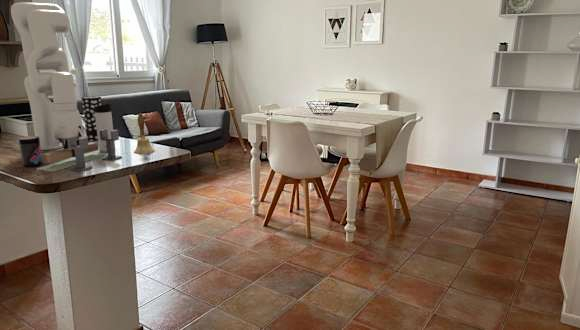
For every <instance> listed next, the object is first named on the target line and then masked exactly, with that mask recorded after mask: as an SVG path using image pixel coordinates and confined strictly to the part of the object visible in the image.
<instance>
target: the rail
mask: <svg viewBox="0 0 580 330" xmlns="http://www.w3.org/2000/svg"><path fill="white" fill-rule="evenodd" d="M88 146H89V148H88V149H84V150H83V151H84V154H87V153H94V152H96V151H99V144H98V141H89V142H88ZM70 158H73V154H72V149H68V148H66V149H64V148H62V149H59V150H58V149H57V150H54V151H50V152H47V153H42V159H43V164H53V163H57V162H60V161H63V160H67V159H70Z"/></svg>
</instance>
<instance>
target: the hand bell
mask: <svg viewBox="0 0 580 330" xmlns="http://www.w3.org/2000/svg"><path fill="white" fill-rule="evenodd" d="M137 124H138V127H139V134H140V135H139V136H140V137H139V138H138V139H137V144H136V147H135V150H134V151H133V153H134V154H138V155H142V154H144V155H145V154H151V153H154V152H155V149H154V148H153V147H152V145H151V143H150V140H149V138H148V137H146V135H145V119H144V116H143V113H138V115H137Z"/></svg>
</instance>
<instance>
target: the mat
mask: <svg viewBox="0 0 580 330" xmlns="http://www.w3.org/2000/svg"><path fill="white" fill-rule="evenodd" d="M106 156H107V153H100V152H99V153H98V152H89V153H85V154H84V158H85V163H86V162H89V161H92V160H96V159H98V158H103V157H106ZM75 166H77V165H76V158H75V157H71V158H67V159H63V160H60V161H56V162H53V163H49V164H46V165H43V166H39V167H36V171H41V170H44V171H43V172H52V171H55V172H58V171H61V170H64V168H65V169H68V168H70V167H71V168H72V167H75ZM67 167H68V168H67ZM60 169H61V170H60ZM57 170H58V171H57Z"/></svg>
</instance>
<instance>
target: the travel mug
mask: <svg viewBox="0 0 580 330" xmlns="http://www.w3.org/2000/svg"><path fill="white" fill-rule="evenodd" d="M111 109H112V107H111V103H106V104H102V105H99V106H94V110H95V119H96V127H97V135H98V141H97V143H98V151H99V153H101V154H107V145H106V141H104V140H101V139H100V130H104V129H107V133H108V137H111V132H110V131H113V130H114V124H113V117H112V115H113V114H112V110H111ZM115 142H116V141H114V146H115V147H116V143H115Z"/></svg>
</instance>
